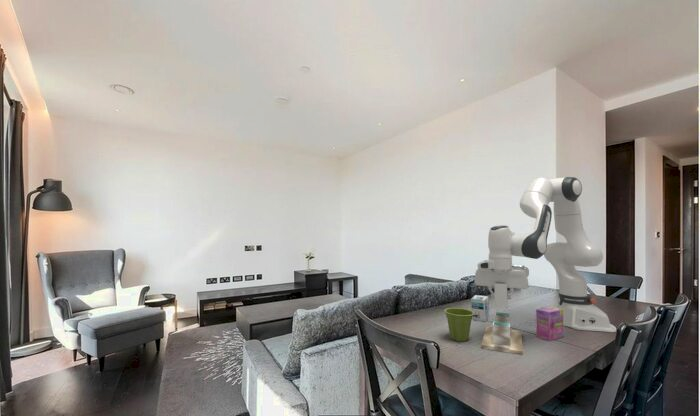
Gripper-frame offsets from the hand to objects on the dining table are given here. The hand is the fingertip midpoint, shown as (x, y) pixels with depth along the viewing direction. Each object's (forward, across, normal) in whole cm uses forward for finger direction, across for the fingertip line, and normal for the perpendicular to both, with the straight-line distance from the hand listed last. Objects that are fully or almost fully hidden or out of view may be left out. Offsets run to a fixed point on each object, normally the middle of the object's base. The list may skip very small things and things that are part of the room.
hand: (501, 298), depth 131 cm
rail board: (+17, 0, 0) cm, 17 cm away
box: (+17, -18, -14) cm, 29 cm away
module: (+4, 0, 0) cm, 4 cm away
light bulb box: (+17, +11, -30) cm, 36 cm away
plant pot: (+18, +16, +6) cm, 24 cm away
